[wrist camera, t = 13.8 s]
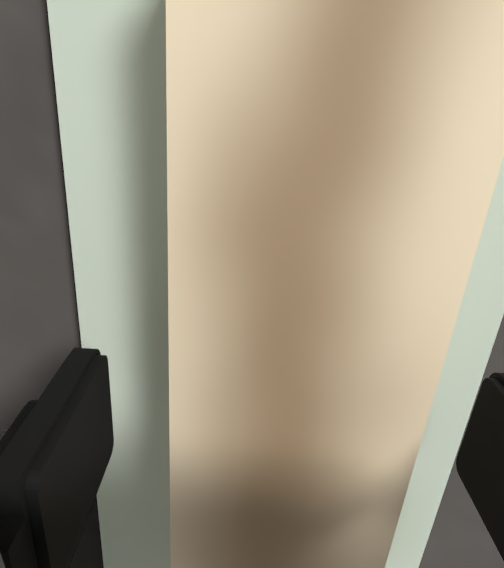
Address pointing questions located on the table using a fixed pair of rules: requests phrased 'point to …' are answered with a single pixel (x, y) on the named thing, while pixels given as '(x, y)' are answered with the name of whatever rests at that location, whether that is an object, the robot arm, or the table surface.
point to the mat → (154, 278)
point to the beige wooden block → (317, 261)
